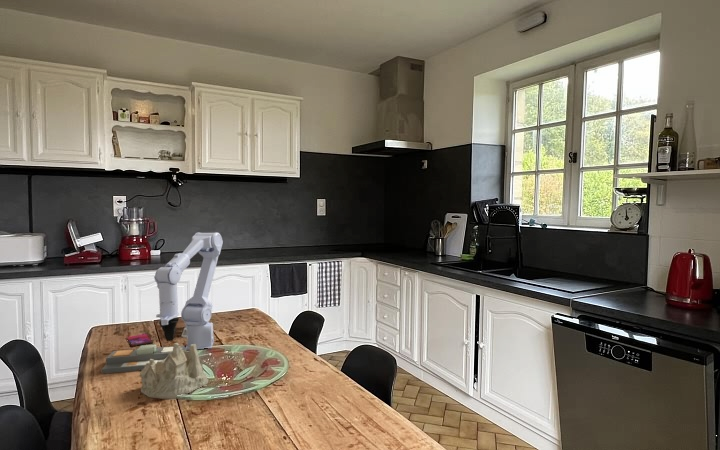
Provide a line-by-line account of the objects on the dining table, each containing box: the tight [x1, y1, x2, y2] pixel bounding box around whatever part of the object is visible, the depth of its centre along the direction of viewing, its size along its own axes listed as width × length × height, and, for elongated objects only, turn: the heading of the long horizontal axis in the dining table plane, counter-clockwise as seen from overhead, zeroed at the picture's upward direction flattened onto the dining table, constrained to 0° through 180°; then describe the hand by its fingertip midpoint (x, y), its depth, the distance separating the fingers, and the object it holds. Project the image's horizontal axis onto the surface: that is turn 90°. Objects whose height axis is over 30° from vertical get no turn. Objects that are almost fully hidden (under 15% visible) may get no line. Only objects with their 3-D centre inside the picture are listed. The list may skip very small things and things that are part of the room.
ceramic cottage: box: [139, 342, 209, 400], centre depth 129 cm, size 16×16×15 cm
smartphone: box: [126, 333, 154, 348], centre depth 175 cm, size 8×1×15 cm
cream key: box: [161, 346, 173, 353], centre depth 152 cm, size 5×5×2 cm
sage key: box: [136, 343, 157, 355], centre depth 150 cm, size 5×5×2 cm
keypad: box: [101, 344, 188, 375], centre depth 150 cm, size 23×16×4 cm
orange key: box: [112, 349, 133, 357], centre depth 149 cm, size 5×5×2 cm
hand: (169, 340), depth 152 cm, fingers closed
